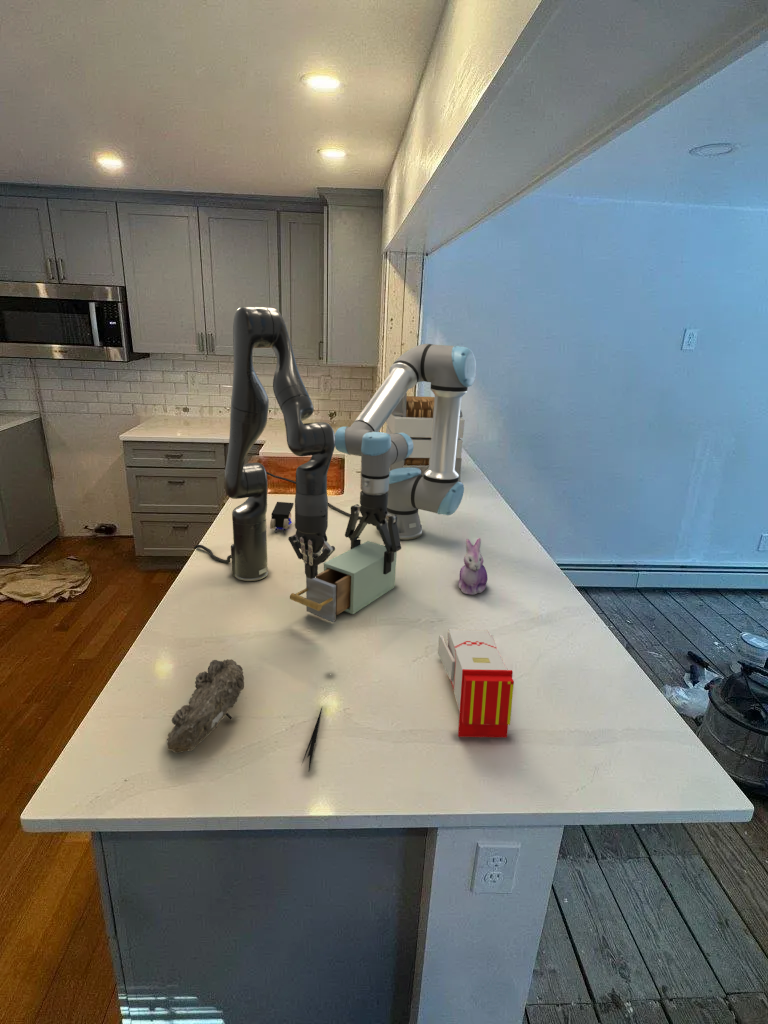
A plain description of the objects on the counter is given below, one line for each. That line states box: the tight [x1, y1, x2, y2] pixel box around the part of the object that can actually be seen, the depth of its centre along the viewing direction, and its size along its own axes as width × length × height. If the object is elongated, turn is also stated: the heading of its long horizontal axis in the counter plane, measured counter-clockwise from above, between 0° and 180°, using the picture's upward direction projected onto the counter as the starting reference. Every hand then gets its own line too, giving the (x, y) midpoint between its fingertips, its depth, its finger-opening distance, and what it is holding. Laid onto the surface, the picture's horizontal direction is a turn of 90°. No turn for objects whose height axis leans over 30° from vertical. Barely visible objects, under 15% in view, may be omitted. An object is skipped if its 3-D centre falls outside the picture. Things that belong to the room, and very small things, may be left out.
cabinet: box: [323, 540, 398, 615], centre depth 155 cm, size 20×10×12 cm, turn 146°
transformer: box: [385, 392, 465, 482], centre depth 268 cm, size 34×33×41 cm
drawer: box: [289, 568, 351, 623], centre depth 146 cm, size 24×9×10 cm, turn 146°
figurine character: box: [269, 501, 295, 534], centre depth 199 cm, size 7×8×15 cm
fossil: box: [166, 658, 245, 754], centre depth 106 cm, size 22×10×15 cm
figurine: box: [457, 537, 488, 596], centre depth 160 cm, size 9×10×15 cm
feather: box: [301, 673, 332, 771], centre depth 108 cm, size 2×28×2 cm
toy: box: [437, 628, 515, 738], centre depth 117 cm, size 12×13×30 cm
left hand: (311, 577), depth 136 cm, fingers closed
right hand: (371, 567), depth 158 cm, fingers closed on cabinet, 10 cm apart
